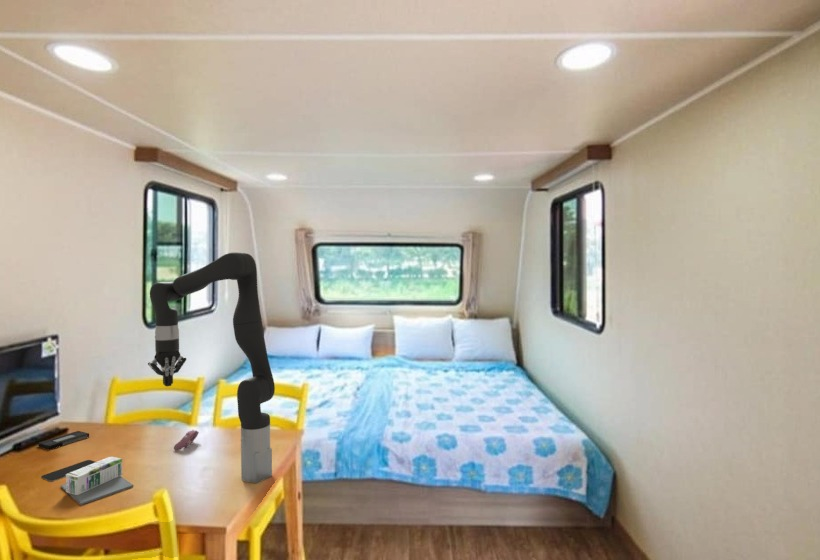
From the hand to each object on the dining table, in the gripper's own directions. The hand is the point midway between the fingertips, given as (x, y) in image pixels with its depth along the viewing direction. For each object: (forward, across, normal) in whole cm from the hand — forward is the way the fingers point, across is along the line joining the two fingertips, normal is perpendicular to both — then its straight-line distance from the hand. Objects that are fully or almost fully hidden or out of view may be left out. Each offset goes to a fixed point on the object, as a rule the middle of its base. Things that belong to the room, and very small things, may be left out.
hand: (168, 385), depth 162 cm
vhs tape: (+28, -16, +52) cm, 61 cm away
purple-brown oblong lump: (+27, +10, +8) cm, 30 cm away
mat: (+27, -23, -2) cm, 36 cm away
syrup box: (+24, -16, +2) cm, 29 cm away
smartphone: (+28, -24, +19) cm, 41 cm away
